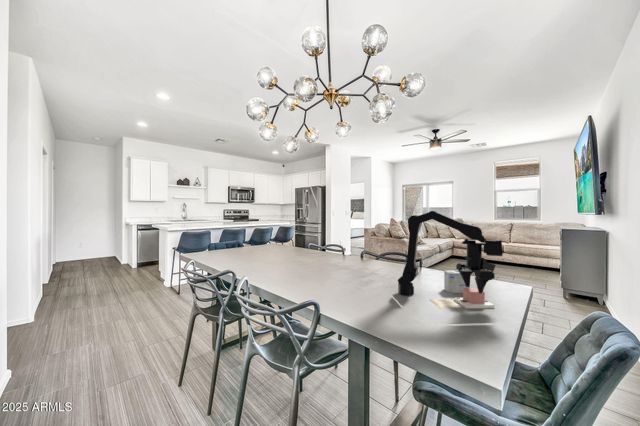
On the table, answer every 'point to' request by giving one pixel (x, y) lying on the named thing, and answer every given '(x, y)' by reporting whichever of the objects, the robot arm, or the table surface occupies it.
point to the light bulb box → (453, 282)
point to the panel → (468, 305)
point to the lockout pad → (446, 304)
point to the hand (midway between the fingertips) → (473, 289)
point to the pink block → (473, 296)
